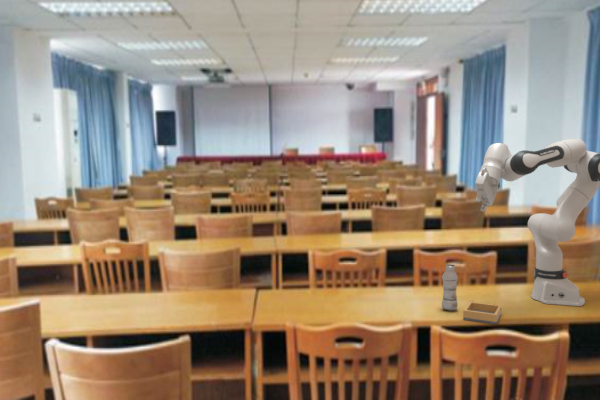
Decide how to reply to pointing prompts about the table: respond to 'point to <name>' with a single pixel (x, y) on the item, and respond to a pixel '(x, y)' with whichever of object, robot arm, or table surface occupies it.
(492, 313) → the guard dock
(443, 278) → the plastic bottle
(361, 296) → the table surface
